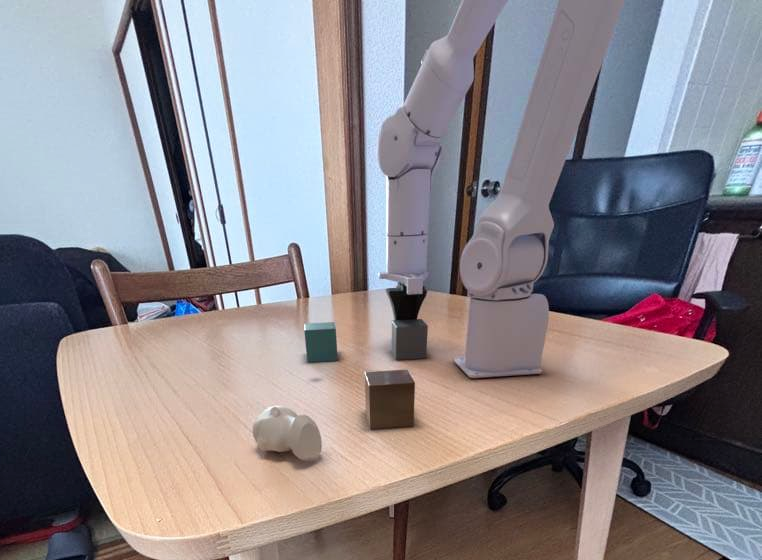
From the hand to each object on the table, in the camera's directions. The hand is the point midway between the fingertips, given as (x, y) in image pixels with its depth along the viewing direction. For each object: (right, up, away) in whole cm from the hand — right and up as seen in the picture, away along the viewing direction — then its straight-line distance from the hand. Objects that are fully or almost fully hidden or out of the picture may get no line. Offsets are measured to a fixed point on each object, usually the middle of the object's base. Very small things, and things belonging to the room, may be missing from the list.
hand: (404, 339), depth 72 cm
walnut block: (-4, -18, -23) cm, 29 cm away
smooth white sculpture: (-14, -23, -28) cm, 39 cm away
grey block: (0, -3, -2) cm, 4 cm away
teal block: (-13, -3, -1) cm, 13 cm away
